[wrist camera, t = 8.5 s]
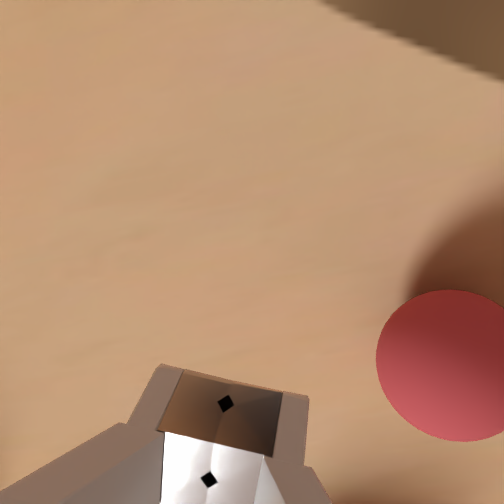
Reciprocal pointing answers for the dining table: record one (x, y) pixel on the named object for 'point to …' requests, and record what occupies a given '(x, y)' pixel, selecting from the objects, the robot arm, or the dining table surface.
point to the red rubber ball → (445, 364)
